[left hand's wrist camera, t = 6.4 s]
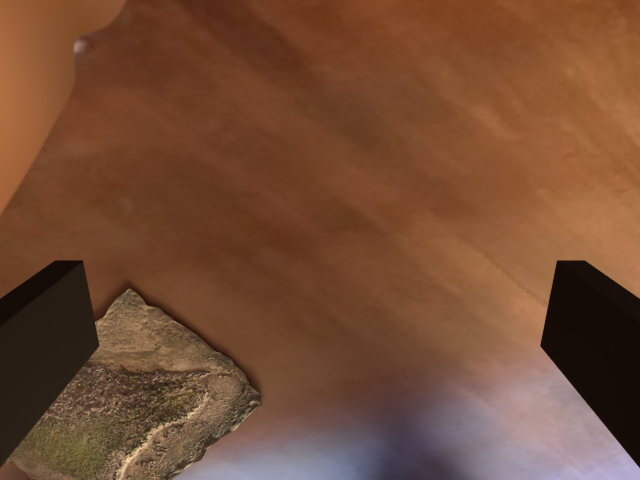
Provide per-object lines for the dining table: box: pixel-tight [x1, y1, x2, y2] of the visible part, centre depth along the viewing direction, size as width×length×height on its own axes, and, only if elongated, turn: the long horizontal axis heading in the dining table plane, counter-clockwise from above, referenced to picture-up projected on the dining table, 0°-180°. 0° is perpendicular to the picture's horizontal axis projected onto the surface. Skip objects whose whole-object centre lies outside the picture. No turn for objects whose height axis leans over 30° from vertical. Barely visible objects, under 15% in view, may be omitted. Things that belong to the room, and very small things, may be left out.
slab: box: [7, 289, 263, 480], centre depth 48 cm, size 28×20×1 cm
